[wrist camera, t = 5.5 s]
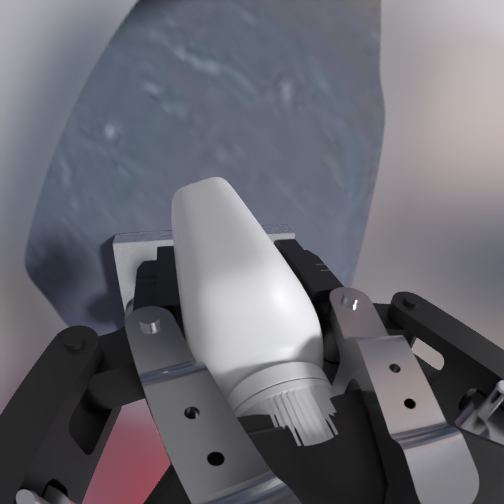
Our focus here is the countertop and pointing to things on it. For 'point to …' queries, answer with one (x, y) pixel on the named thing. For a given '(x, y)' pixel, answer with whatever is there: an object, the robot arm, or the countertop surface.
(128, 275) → the bolt plate
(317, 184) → the countertop surface
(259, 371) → the eye dropper bottle
